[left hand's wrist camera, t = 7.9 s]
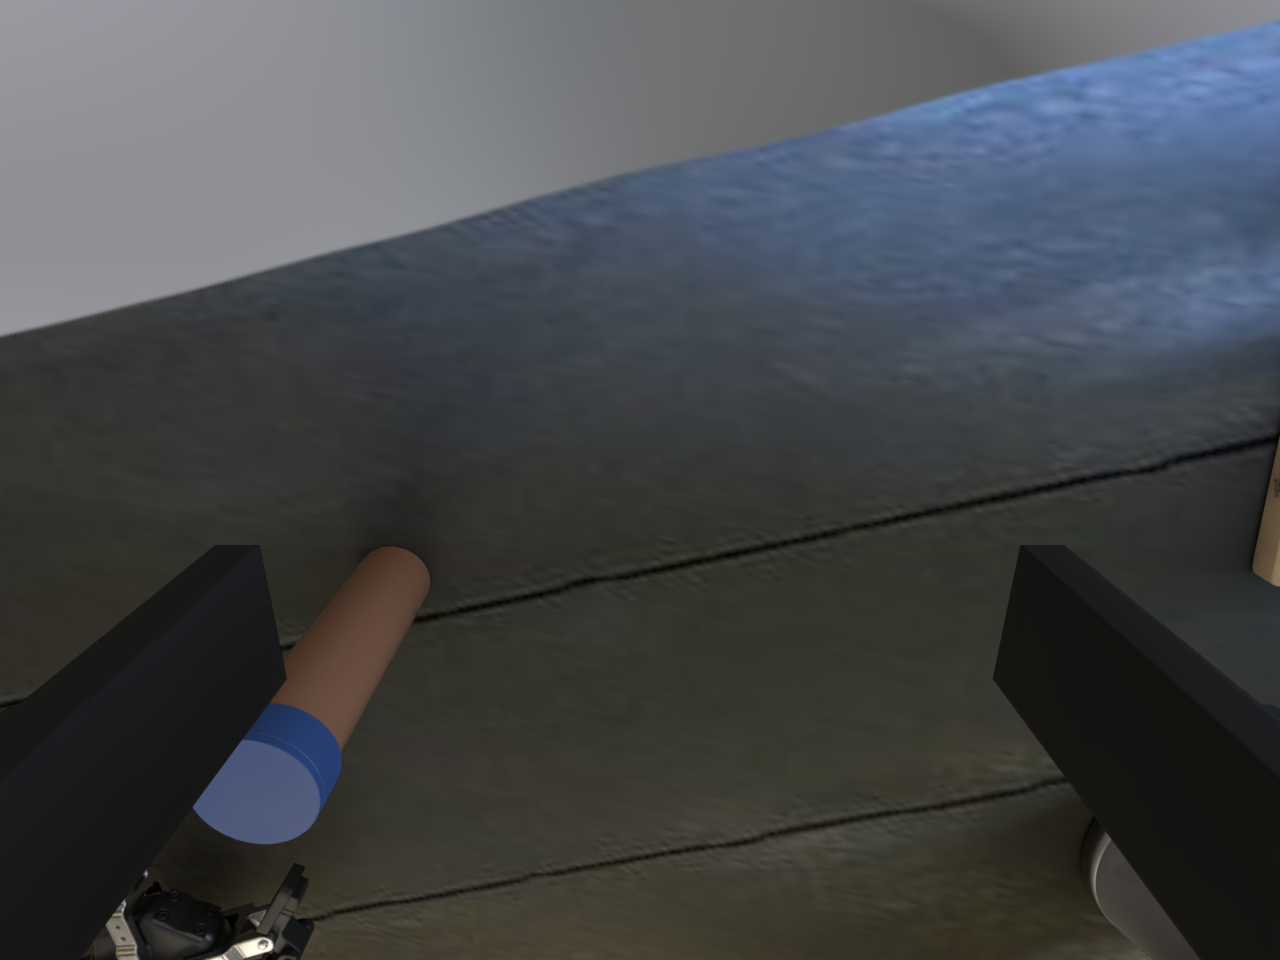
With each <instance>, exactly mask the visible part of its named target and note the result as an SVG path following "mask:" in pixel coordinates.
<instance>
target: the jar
mask: <svg viewBox="0 0 1280 960" xmlns="http://www.w3.org/2000/svg"><path fill="white" fill-rule="evenodd" d="M430 583H431V581H430V575H429V572H428V569H427V567H426V566H425V564H424V563H423V562H422V560H421V559H420V558H419V557H418V556H416V555H415V554H413V553H412V552H410V551H408V550H406V549H403V548H399V547H393V546H386V547H380V548H377V549H375V550H372V551H371V552H369V553H368V554H367V555H366V556H365V557H364V558H363V559H362V560H361V561H360V563H359V564H358V565H357V567H356V568H355V569H354V570H353V572H352V573H351V574H350V576H349V577H348V578H347V579H346V581H345V582H344V583H343V584H342V586H341V587H340V588H339V590H338V591H337V592H336V593H335V595H334V596H333V597H332V598H331V600H330V601H329V602H328V604H327V605H326V606H325V607H324V609H323V610H322V611H321V612H320V614H319V615H318V616H317V618H316V619H315V620H314V621H313V623H312V624H311V625H310V626H309V628H308V629H307V630H306V632H305V633H304V634H303V635H302V637H301V638H300V639H299V641H298V642H297V643H296V644H295V646H294V647H293V648H292V649H291V651H290V652H289V653H288V655H287V656H286V657H285V658H284V660H283V661H284V666H285V671H286V676H287V680H286V681H285V683H284V684H283V685H282V687H281V688H280V689H279V691H278V692H277V693H276V695H275V696H274V697H273V699H272V700H271V702H270V703H279V704H284V705H289V706H292V707H295V708H298V709H300V710H303V711H305V712H307V713H309V714H310V715H312V716H314V717H315V718H316V719H318V720H319V721H320V722H321V723H323V724H324V725H325V726H326V727H327V728H328V729H329V731H330V732H331V733H332V735H333V736H334V738H335V739H336V741H337V743H338V746H339V749H340V753H341V752H342V750H343V749H344V747H345V745H346V743H347V741H348V739H349V738H350V736H351V734H352V732H353V730H354V729H355V727H356V725H357V723H358V721H359V719H360V718H361V716H362V714H363V712H364V710H365V708H366V707H367V705H368V703H369V701H370V699H371V697H372V696H373V694H374V692H375V690H376V688H377V686H378V685H379V683H380V681H381V679H382V677H383V675H384V674H385V672H386V670H387V668H388V666H389V664H390V663H391V661H392V659H393V657H394V655H395V653H396V652H397V650H398V648H399V646H400V644H401V643H402V641H403V639H404V637H405V635H406V633H407V632H408V630H409V628H410V626H411V624H412V622H413V621H414V619H415V617H416V615H417V613H418V611H419V610H420V608H421V606H422V604H423V602H424V600H425V599H426V597H427V595H428V593H429V590H430Z"/></svg>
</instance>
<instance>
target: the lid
mask: <svg viewBox="0 0 1280 960" xmlns="http://www.w3.org/2000/svg"><path fill="white" fill-rule="evenodd" d="M340 771H341V753H340V749H339V746H338V743H337V741H336V739H335V738H334V736H333V735H332V733H331V732H330V731H329V729H328V728H327V727H326V726H325V725H324V724H323V723H321V722H320V721H319V720H318V719H316V718H315V717H314V716H312V715H310V714H309V713H307V712H305V711H303V710H300V709H298V708H295V707H292V706H289V705H284V704H279V703H269V704H268V706H267V707H266V708H265V710H264V711H263V712H262V714H261V715H260V716H259V718H258V719H257V720H256V722H255V723H254V725H253V726H252V727H251V729H250V730H249V731H248V733H247V734H246V735H245V737H244V738H243V739H242V741H241V742H240V743H239V745H238V746H237V748H236V749H235V750H234V752H233V753H232V754H231V756H230V757H229V758H228V760H227V761H226V762H225V764H224V765H223V767H222V768H221V769H220V771H219V772H218V773H217V775H216V776H215V777H214V779H213V780H212V781H211V783H210V784H209V785H208V787H207V788H206V790H205V791H204V792H203V794H202V795H201V796H200V798H199V799H198V800H197V802H196V803H195V804H194V806H193V809H194V810H195V812H196V813H197V814H198V815H199V816H200V817H201V818H202V819H203V820H204V821H205V822H206V823H207V824H208V825H210V826H211V827H212V828H214V829H215V830H217V831H219V832H220V833H222V834H224V835H226V836H229V837H231V838H234V839H237V840H240V841H244V842H248V843H255V844H275V843H281V842H285V841H288V840H291V839H294V838H296V837H298V836H300V835H301V834H303V833H304V832H306V831H307V830H308V829H309V828H310V827H311V826H312V825H313V823H314V822H315V820H316V819H317V817H318V815H319V813H320V811H321V809H322V807H323V805H324V803H325V801H326V800H327V798H328V796H329V794H330V792H331V790H332V788H333V786H334V784H335V783H336V781H337V779H338V777H339V774H340Z"/></svg>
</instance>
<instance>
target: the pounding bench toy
mask: <svg viewBox="0 0 1280 960" xmlns="http://www.w3.org/2000/svg"><path fill="white" fill-rule="evenodd" d="M1253 572H1254V573H1255V574H1257V575H1258V576H1260V577H1261V578H1263V579H1265V580H1266V581H1268V582H1270V583H1271V584H1273V585H1275V586H1280V437H1279V441H1278V446H1277V451H1276V455H1275V460H1274V465H1273V469H1272V474H1271V479H1270V483H1269V488H1268V493H1267V498H1266V502H1265V507H1264V512H1263V516H1262V521H1261V526H1260V531H1259V536H1258V541H1257V545H1256V549H1255V554H1254V560H1253Z"/></svg>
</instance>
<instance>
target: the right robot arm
mask: <svg viewBox="0 0 1280 960" xmlns="http://www.w3.org/2000/svg"><path fill="white" fill-rule="evenodd" d="M304 869H305V867H303V866H301V865H299V864H296V863H294V864H293V866H292V868H291V869H290V871H289V873H288V874H287V876H286V878H285V879H284V881H283V883H282V884H281V886H280V888H279V889H278V891H277V893H276V894H275V896H274V898H273V899H272V901H271V903H270V904H266V905H263V906H260V907H255V906H254V904H253V903H250V904H246V905H243V906H239V907H236V908H233V909H229V910H226V911H223V912H220V910H221V908H220V907H218V906H215V905H213V904H210V903H206V902H202V901H197V900H195V899H193V898H192V897H190V896H189V895H187V894H185V893H183V892H181V891H178V890H176V889H172V890H171V891H170V889H169V886H168V884H167V882H166V879H165V877H164V875H163V873H162V870H161V868H160V866H159V865H151V864H150V865H149V867H148V868H147V869H146V871H145V872H144V874H143V875H142V876H141V878H140V879H139V880H138V882H137V883H136V884H135V886H134V887H133V888H132V890H131V891H130V892H129V894H128V895H127V897H126V898H125V899H124V901H123V902H122V903H121V905H120V906H119V907H118V909H117V910H116V911H115V913H114V914H113V916H112V917H111V918H110V920H109V921H108V922H107V924H106V925H105V926H104V928H103V929H102V930H101V932H100V933H99V934H98V936H97V937H96V939H95V940H94V941H93V945H94V952H93V954H92V956H91V958H90V960H244V959H245V958H248V957H251V956H255V955H258V954H262V953H264V954H263V956H262V958H261V959H257V960H300V958H301V956H302V954H303V952H304V950H305V947H306V945H307V943H308V941H309V938H310V936H311V934H312V932H313V930H314V923H313V922H312V921H310V920H308V919H304V918H302V919H299V920H296V919H295V918H294V916H293V914H294V912H295V910H296V909H297V907H298V905H299V903H300V901H301V899H302V897H303V895H304V893H305V891H306V889H307V887H308V879H307V878H304V877H302V876H301V875H302V873H303V871H304ZM144 894H145V896H143V895H144ZM271 950H273V953H272V954H270V953H269V951H271Z"/></svg>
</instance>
